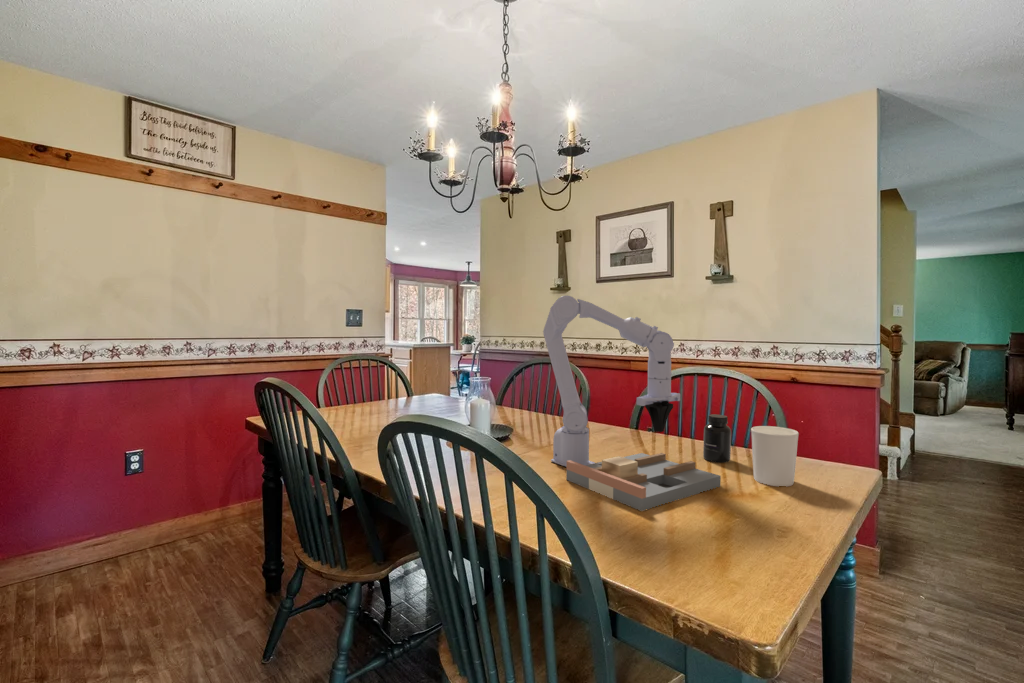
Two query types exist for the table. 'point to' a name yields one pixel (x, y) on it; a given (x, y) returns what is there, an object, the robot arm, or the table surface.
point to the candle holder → (774, 455)
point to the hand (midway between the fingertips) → (658, 431)
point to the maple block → (620, 467)
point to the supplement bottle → (717, 439)
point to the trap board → (645, 481)
